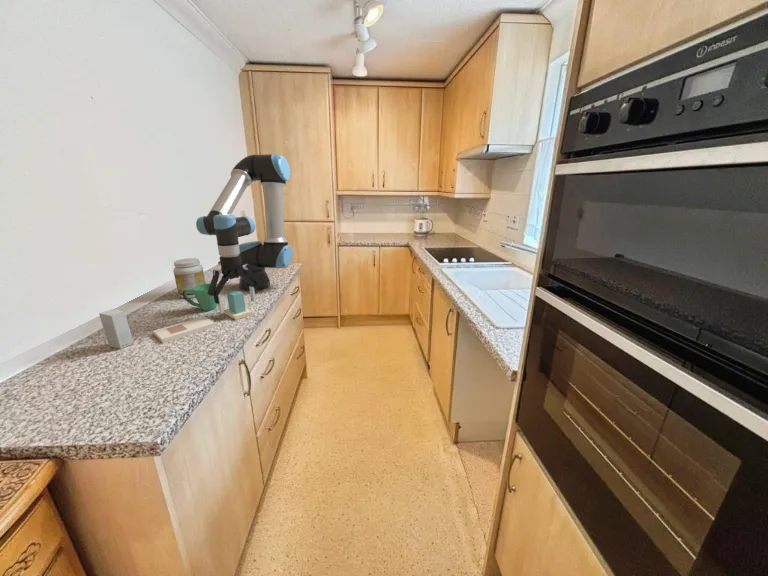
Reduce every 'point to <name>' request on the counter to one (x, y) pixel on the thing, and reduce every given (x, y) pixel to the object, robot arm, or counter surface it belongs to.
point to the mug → (201, 297)
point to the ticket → (184, 328)
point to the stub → (236, 305)
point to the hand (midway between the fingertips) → (237, 305)
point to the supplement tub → (188, 275)
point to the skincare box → (116, 328)
